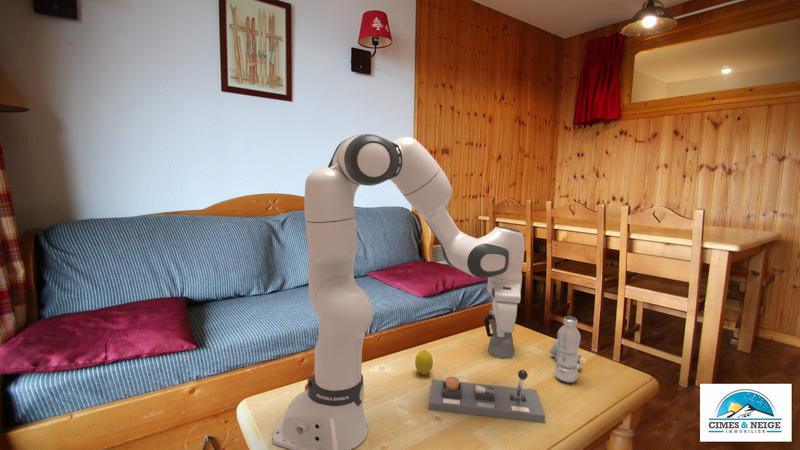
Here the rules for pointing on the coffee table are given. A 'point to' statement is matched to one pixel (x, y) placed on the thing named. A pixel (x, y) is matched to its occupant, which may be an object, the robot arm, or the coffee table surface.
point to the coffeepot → (498, 339)
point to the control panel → (486, 401)
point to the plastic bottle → (568, 351)
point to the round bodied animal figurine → (555, 352)
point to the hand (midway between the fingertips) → (500, 335)
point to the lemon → (424, 362)
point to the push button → (452, 383)
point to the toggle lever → (520, 382)
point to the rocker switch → (483, 390)
